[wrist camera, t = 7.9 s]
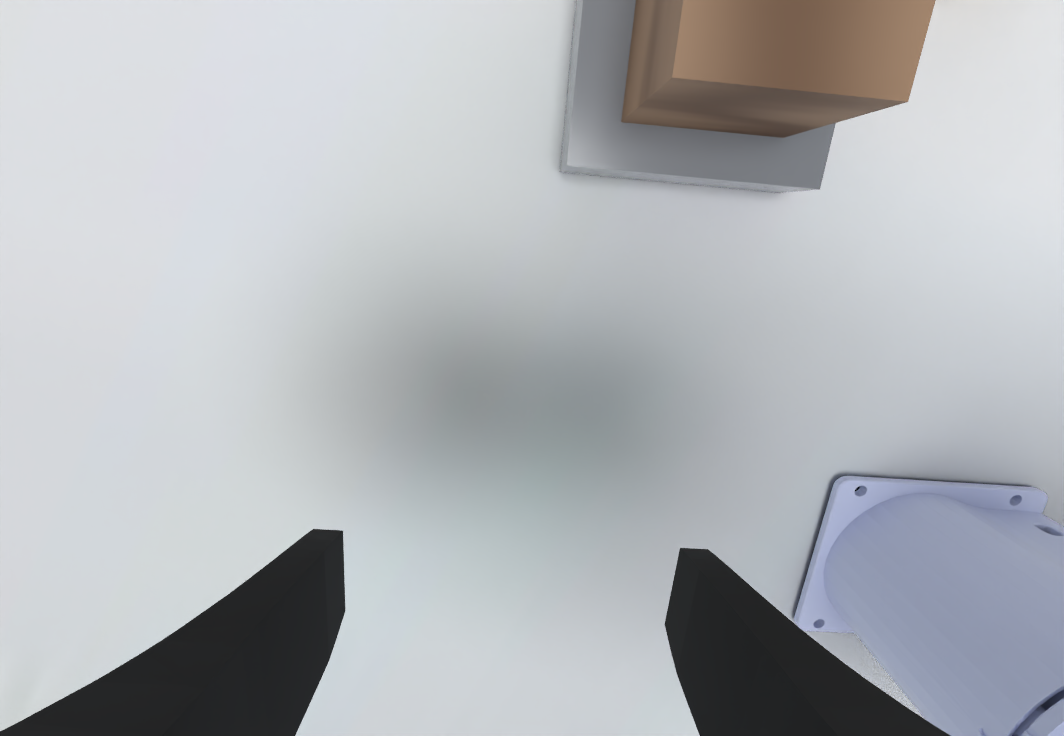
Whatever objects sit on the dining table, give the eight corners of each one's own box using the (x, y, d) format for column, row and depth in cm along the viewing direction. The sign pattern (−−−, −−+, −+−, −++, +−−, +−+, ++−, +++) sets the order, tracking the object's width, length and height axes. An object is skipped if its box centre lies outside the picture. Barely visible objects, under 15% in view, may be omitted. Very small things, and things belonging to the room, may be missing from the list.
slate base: (837, -76, 16) (895, -128, 13) (778, 192, 18) (819, 189, 16) (586, -108, 15) (599, -167, 13) (559, 172, 17) (566, 165, 15)
